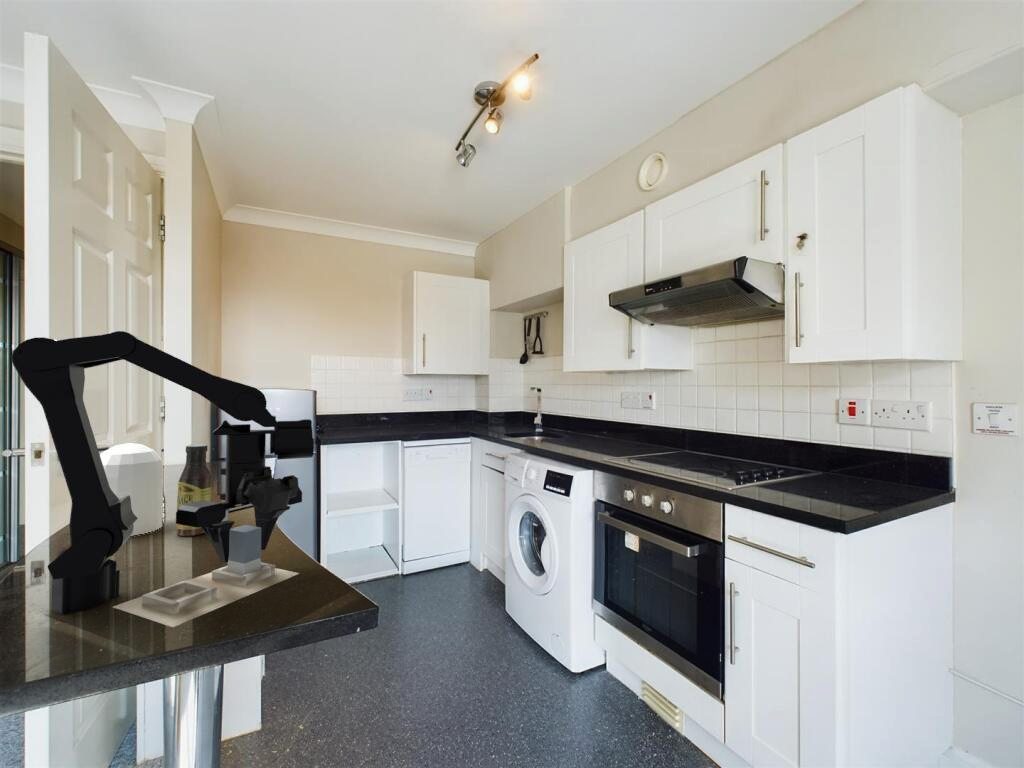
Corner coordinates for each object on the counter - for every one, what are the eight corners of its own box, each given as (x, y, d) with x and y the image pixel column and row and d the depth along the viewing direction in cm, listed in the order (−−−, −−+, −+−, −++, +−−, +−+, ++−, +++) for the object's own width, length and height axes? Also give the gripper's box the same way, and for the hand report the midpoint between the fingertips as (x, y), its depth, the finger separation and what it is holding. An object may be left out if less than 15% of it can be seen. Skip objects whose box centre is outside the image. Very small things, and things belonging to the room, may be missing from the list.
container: (100, 526, 109) (102, 441, 110) (169, 520, 115) (171, 439, 116) (75, 543, 97) (78, 447, 98) (154, 535, 103) (156, 444, 103)
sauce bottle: (170, 535, 103) (171, 445, 103) (199, 527, 109) (201, 442, 109) (186, 539, 100) (188, 447, 100) (216, 531, 105) (217, 444, 106)
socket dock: (172, 634, 60) (173, 615, 60) (112, 613, 66) (112, 596, 66) (299, 579, 79) (299, 564, 79) (243, 566, 84) (243, 552, 84)
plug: (243, 582, 75) (244, 532, 75) (227, 578, 76) (228, 529, 76) (260, 575, 77) (261, 527, 78) (244, 572, 79) (245, 524, 79)
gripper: (223, 473, 66) (221, 585, 65) (325, 457, 83) (324, 545, 82) (174, 468, 70) (172, 572, 70) (280, 454, 87) (279, 537, 87)
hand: (244, 555), depth 77 cm, fingers open, 6 cm apart
